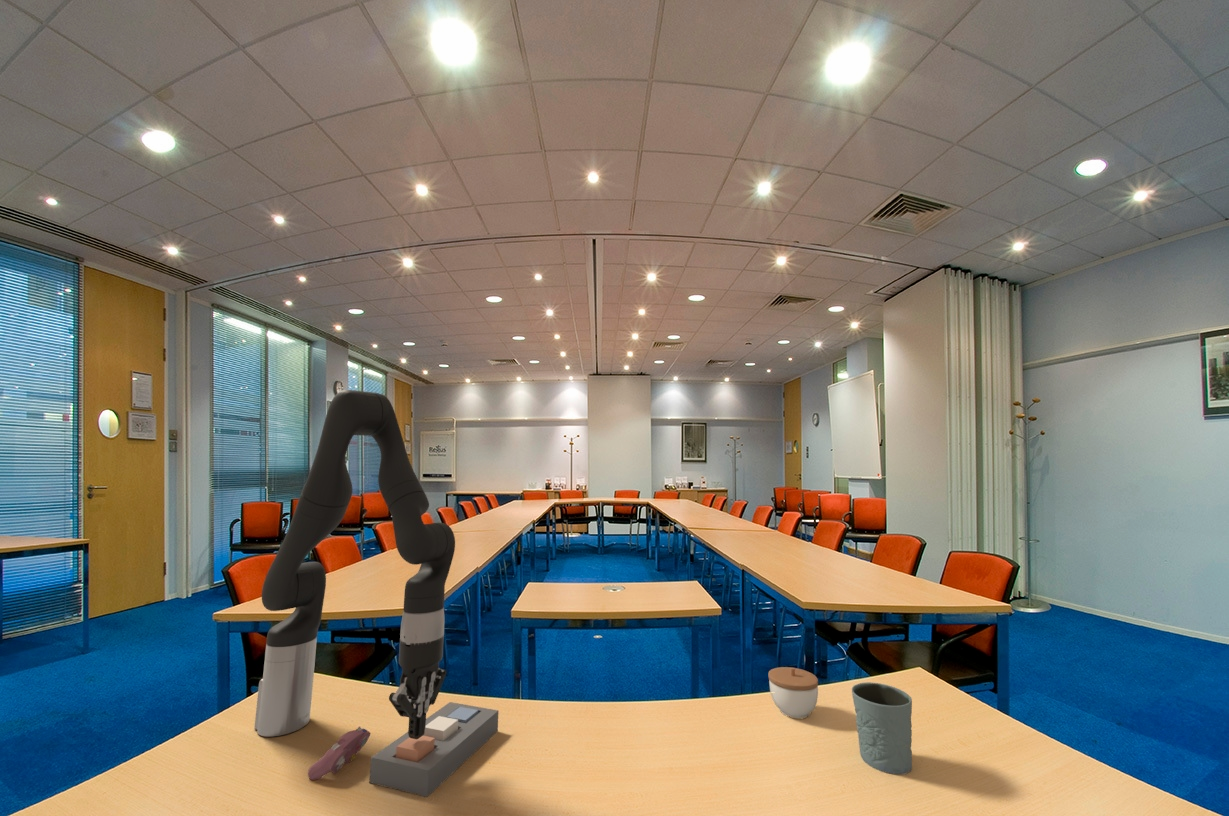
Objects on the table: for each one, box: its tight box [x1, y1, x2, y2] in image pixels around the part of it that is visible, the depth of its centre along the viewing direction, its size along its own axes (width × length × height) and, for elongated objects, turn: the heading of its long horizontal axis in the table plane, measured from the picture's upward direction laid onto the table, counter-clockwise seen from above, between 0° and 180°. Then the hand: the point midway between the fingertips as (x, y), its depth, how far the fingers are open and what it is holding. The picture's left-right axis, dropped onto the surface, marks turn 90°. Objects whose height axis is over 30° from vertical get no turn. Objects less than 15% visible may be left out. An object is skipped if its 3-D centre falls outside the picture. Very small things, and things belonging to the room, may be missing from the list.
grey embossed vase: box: [851, 681, 913, 775], centre depth 91 cm, size 10×10×12 cm
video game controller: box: [307, 726, 372, 781], centre depth 88 cm, size 10×5×7 cm, turn 169°
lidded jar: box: [768, 666, 819, 719], centre depth 110 cm, size 11×11×9 cm
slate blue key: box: [447, 707, 478, 723], centre depth 99 cm, size 4×4×2 cm
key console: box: [369, 701, 499, 798], centre depth 92 cm, size 12×22×4 cm, turn 162°
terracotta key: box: [396, 736, 435, 763], centre depth 86 cm, size 4×4×2 cm
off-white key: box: [423, 716, 458, 742], centre depth 92 cm, size 4×4×2 cm
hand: (416, 736), depth 86 cm, fingers closed
